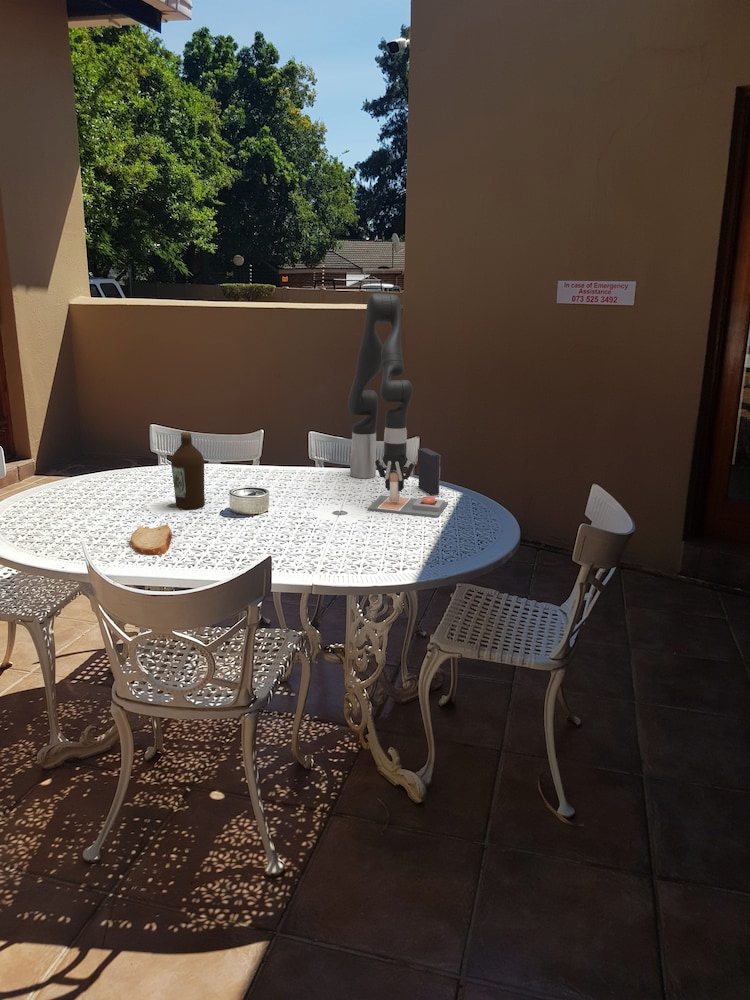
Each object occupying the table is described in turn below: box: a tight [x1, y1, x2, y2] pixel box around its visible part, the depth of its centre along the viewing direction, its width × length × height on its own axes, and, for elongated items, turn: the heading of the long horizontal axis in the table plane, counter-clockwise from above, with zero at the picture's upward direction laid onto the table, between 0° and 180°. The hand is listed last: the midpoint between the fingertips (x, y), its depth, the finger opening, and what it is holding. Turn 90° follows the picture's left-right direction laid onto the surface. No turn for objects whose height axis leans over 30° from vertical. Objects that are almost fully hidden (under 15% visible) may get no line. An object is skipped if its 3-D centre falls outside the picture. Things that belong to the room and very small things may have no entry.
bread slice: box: [129, 524, 173, 556], centre depth 218 cm, size 18×18×4 cm
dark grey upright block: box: [417, 447, 441, 496], centre depth 270 cm, size 11×4×15 cm, turn 22°
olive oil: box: [170, 431, 206, 511], centre depth 248 cm, size 11×11×25 cm
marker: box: [388, 470, 400, 502], centre depth 253 cm, size 4×4×10 cm
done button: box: [421, 496, 436, 505], centre depth 250 cm, size 4×4×2 cm
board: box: [367, 494, 449, 519], centre depth 253 cm, size 24×16×2 cm, turn 73°
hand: (394, 489), depth 253 cm, fingers closed on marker, 3 cm apart
